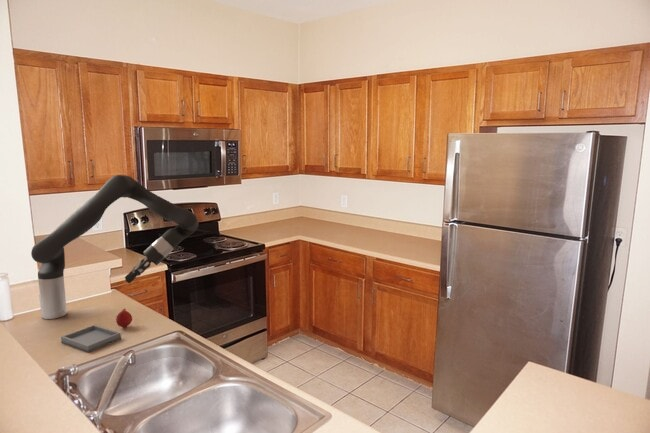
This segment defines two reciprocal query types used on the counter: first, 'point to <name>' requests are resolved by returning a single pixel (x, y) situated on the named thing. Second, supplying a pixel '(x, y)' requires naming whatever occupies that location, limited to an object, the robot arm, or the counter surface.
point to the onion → (123, 318)
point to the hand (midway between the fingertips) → (126, 280)
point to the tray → (90, 338)
